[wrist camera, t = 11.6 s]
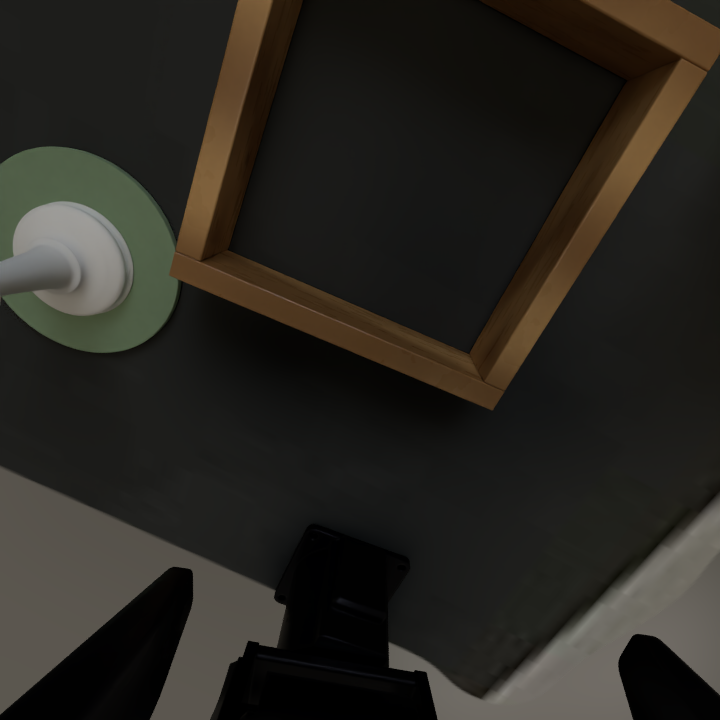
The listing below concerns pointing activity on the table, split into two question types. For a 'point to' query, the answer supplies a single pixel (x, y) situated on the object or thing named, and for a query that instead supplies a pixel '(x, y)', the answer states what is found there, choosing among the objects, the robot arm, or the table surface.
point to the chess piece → (68, 260)
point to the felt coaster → (129, 216)
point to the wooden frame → (553, 243)
